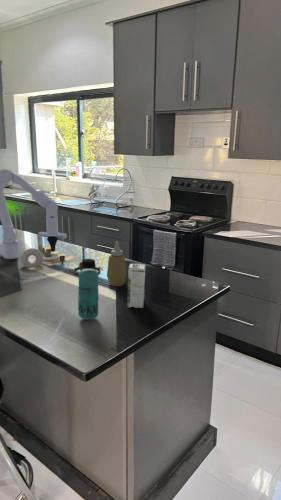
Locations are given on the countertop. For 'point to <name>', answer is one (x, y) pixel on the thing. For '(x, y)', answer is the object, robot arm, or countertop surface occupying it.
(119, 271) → the squeeze bottle
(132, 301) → the syrup box
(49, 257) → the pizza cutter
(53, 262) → the board
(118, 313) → the countertop surface
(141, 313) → the countertop surface
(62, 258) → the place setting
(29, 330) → the countertop surface
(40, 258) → the donut
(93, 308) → the beverage bottle
